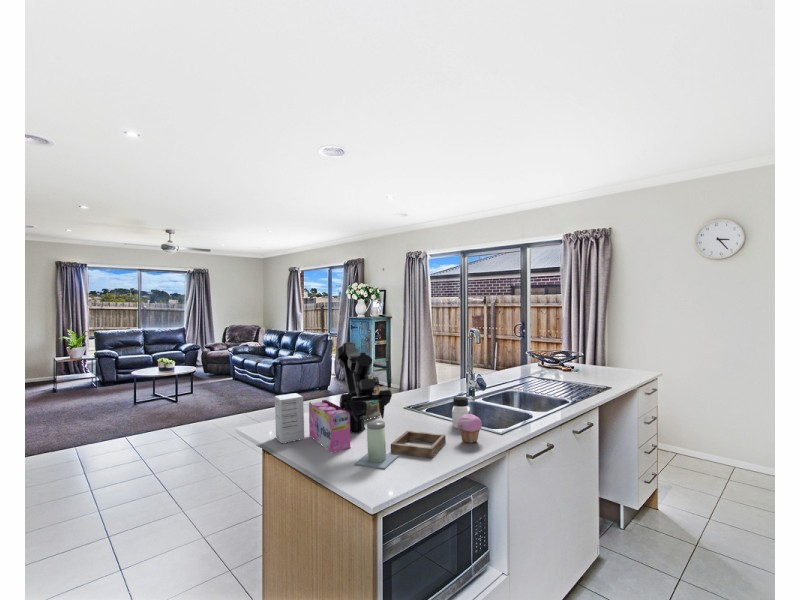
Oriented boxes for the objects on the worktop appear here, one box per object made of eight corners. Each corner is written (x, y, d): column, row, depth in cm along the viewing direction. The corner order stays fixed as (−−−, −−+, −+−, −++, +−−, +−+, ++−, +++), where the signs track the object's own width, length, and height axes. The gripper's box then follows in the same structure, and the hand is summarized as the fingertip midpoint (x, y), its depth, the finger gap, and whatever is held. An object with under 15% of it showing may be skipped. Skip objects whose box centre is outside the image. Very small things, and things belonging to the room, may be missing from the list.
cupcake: (468, 436, 155) (467, 410, 155) (487, 441, 149) (486, 414, 149) (453, 441, 149) (452, 415, 149) (472, 447, 143) (471, 419, 143)
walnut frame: (390, 452, 140) (390, 443, 140) (407, 438, 154) (407, 430, 154) (432, 457, 134) (432, 449, 134) (445, 442, 148) (445, 434, 148)
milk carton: (366, 412, 193) (365, 373, 193) (380, 416, 185) (379, 375, 186) (348, 417, 186) (347, 376, 186) (362, 421, 178) (360, 379, 178)
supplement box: (305, 439, 156) (303, 396, 156) (281, 444, 152) (280, 400, 152) (298, 433, 165) (297, 392, 165) (275, 437, 160) (274, 395, 160)
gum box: (307, 435, 161) (306, 401, 161) (325, 431, 166) (324, 398, 166) (331, 453, 141) (330, 414, 141) (351, 448, 146) (350, 411, 146)
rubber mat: (354, 464, 130) (354, 463, 130) (369, 453, 140) (369, 451, 140) (384, 469, 126) (384, 467, 126) (398, 456, 136) (398, 455, 136)
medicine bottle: (469, 428, 164) (468, 399, 164) (452, 427, 166) (451, 399, 166) (470, 423, 171) (469, 395, 171) (453, 422, 173) (452, 395, 173)
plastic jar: (366, 457, 135) (365, 421, 135) (383, 454, 137) (382, 419, 137) (370, 463, 129) (369, 426, 129) (388, 461, 131) (387, 424, 131)
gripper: (339, 371, 143) (346, 410, 132) (389, 367, 149) (399, 404, 138) (336, 389, 150) (343, 427, 140) (384, 385, 156) (393, 420, 146)
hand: (370, 419), depth 141 cm, fingers open, 9 cm apart
